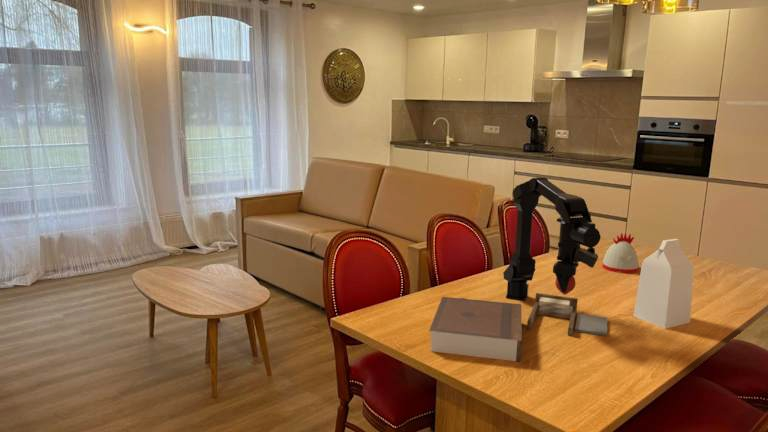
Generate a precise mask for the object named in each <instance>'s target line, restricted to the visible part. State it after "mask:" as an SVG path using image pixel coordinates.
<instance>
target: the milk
mask: <svg viewBox="0 0 768 432" xmlns="http://www.w3.org/2000/svg"><path fill="white" fill-rule="evenodd" d="M680 243H681V242H680V239H678V238H671V239H664V240H662V242H661V243H660V246H659V248H658V249H657V250H655V252H653V253H651V254H650V255H649V256H647V257H646V258H644V259H643V261H642V263H641V268H640V273H639V274H640V275H639V278H638V279H639V281H638V286H637V292H636V297H635V298H636V299H635V304H634V310H633V314H632V315H633V317H635V318H637V319H639V320H642V321H644V322H647V323H650V324H652V325H653V326H654V325H655V326H657V327H659V328H662V329H664V330H666V329H670V328H673V327H678V326H681V325H685V324H690V323H691V317H692V316H691V314H692V300H693V298H692V297H693V285H694V284H693V283H694V265H693V262H692V260H691V259H690V258H689V257H688V255H687V254H686V253H685V251H683V249H682V248H681V244H680Z"/></svg>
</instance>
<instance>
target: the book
mask: <svg viewBox="0 0 768 432" xmlns="http://www.w3.org/2000/svg"><path fill="white" fill-rule="evenodd" d="M461 298H462V297H459V298H457V297H447V296H442V297H441V299H440V302H439V304H438V306H437V307H438V308H437V310H436V313H435V314H434V318H433V320H432V323H431V325H430V327H429V332H430V352H435V353H443V354H451V355H458V356H459V355H460V356H469V357H476V358H477V357H478V358H485V359H486V358H487V359H495V360H503V361H504V360H505V361H513V362H516V363H521V356H522V355H521V354H522V340H523V339H522V337H523V334H522V333H523V332H522V331H523V330H522V328H523V327H522V325H523V324H522V303H521V304H520V303H511V302H502V301H501V302H500V301H489V300H479V299H471V298H469V299H468V298H465V299H461Z"/></svg>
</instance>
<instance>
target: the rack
mask: <svg viewBox="0 0 768 432" xmlns="http://www.w3.org/2000/svg"><path fill="white" fill-rule="evenodd" d="M540 297H546V298H553V299H560V300H567V301H570V306H573V310H572V313H571V318H570V319H569V323H568V326H567V336H570V337H572V336H573V333H574V329H575V324H576V319H577V308H578V300H579V299H578V298H576V297H568V296H562V295H561V296H560V295H554V294H546V293H538V292H536V293H535V302H534V304H533V306H532V309H531V312H530V314H529V316H528V319H527V322H526V330H532V328H533V325H534V322H535V320H536V317H537V316H538V314H537V309H538V306H539V300H540Z"/></svg>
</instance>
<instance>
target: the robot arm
mask: <svg viewBox="0 0 768 432" xmlns="http://www.w3.org/2000/svg"><path fill="white" fill-rule="evenodd" d="M541 196H542V197H544V198H545V199H546V200H547V201H549V202H550V203H551V204H553V205H554V210H555V211H556V212H557V214H558V215H559V217H557V219H556V222H557V223H560V225H559V236H558V237H559V238H558V242H557V247H558V250H557V251H558V252H557V256H556V262H555V263H554V264H553V267H552V273H553V274H555V277H556V278H557V280H558V282H559V285H560V288H561V291H562V292H564V293H565V292H566V290H567V287H568V283H569V280H570V277H572V276H573V277H574V276H575V275H576V274H577V268H578V267H579V265H580V263H582V264H584V265H587V266H588V267H589V268H591V269H592V268H594V267H595V266H596V265H595V264H596V263H597V261H598V260H599V254H598V253H596V248H595V247H596V246H597V245H598V244H599V243H600V241H601V234H600V231H599V230H598V228H596V223H595V222H594V223H593V221H592V217H591V216H592V215H591V213H590V211H589V208H588V206H587V203H586V200H585V199H584V198H583V197H580V196H578V195H576V194H575V195H574V194H570V193H566V191H563V189H561V188H559V187H558V186H557V185H555V184H553V183H552V182H551V181H549V179H548V178H546V177H543V176H540V177H539V176H538V177H533V178H530V179H529V180H527V181H525V182H522V183H520V184H519V185H518V184H517V185H516V186H515V187H514V188H513V190H512V199H513V200H512V201H513V205H514V206H515V208H516V211H517V214H516V215H517V217H516V234H515V246H514V248H515V250H514V253H513V254H512V256H511V257H510V258H509V264H508V266H507V268H506V269H505V270H504V271H503V273H502V274H503V279H504V280H505V281H507V286H506V287H507V288H506V289H507V291H506V295H505V298H507V299H511V300H512V299H514V300H517V301H525V300H526V298H528V295H529V284H528V282H529V281H530V282H531V281H532V280H533V278H534V274H535V271H536V259H535V258H533V256H532V255H531V254H532V253H531V245H532V242H531V241H532V227H533V213H534V210H535V209H537V206H538V205H539V200H540V197H541ZM581 246H584V247H587V248H584V247H581Z"/></svg>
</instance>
